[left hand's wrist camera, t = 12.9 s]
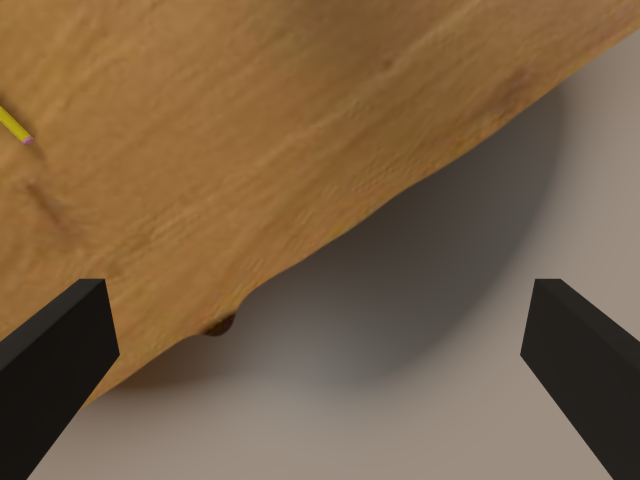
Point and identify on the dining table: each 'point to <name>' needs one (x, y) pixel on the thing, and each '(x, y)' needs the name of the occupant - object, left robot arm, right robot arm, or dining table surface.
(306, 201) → the dining table surface
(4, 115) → the pencil
